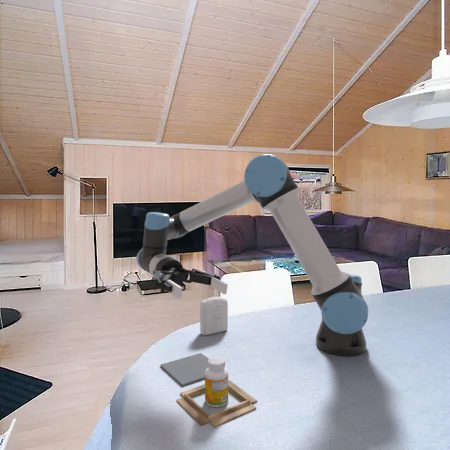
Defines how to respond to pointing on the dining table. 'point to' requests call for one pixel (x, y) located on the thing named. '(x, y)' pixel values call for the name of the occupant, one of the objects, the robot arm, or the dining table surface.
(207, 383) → the supplement bottle
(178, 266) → the robot arm
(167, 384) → the dining table surface
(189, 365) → the slate mat
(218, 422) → the square tan frame
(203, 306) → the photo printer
